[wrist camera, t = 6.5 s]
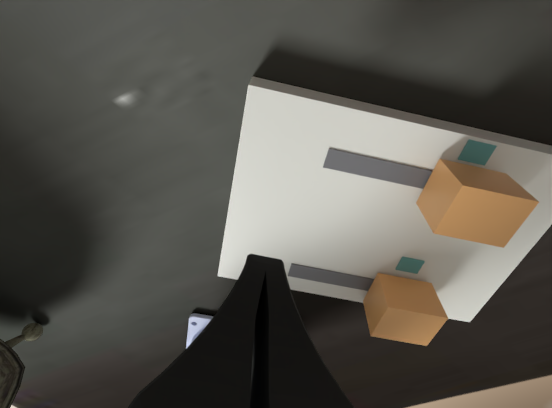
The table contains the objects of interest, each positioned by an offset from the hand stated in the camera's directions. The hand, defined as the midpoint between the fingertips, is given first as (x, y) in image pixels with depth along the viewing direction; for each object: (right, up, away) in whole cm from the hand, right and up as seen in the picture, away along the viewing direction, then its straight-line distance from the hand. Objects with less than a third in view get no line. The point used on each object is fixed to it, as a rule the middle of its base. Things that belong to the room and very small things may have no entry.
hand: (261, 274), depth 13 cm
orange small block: (+11, +4, +6) cm, 13 cm away
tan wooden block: (+9, -4, +11) cm, 15 cm away
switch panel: (+8, +2, +10) cm, 13 cm away
